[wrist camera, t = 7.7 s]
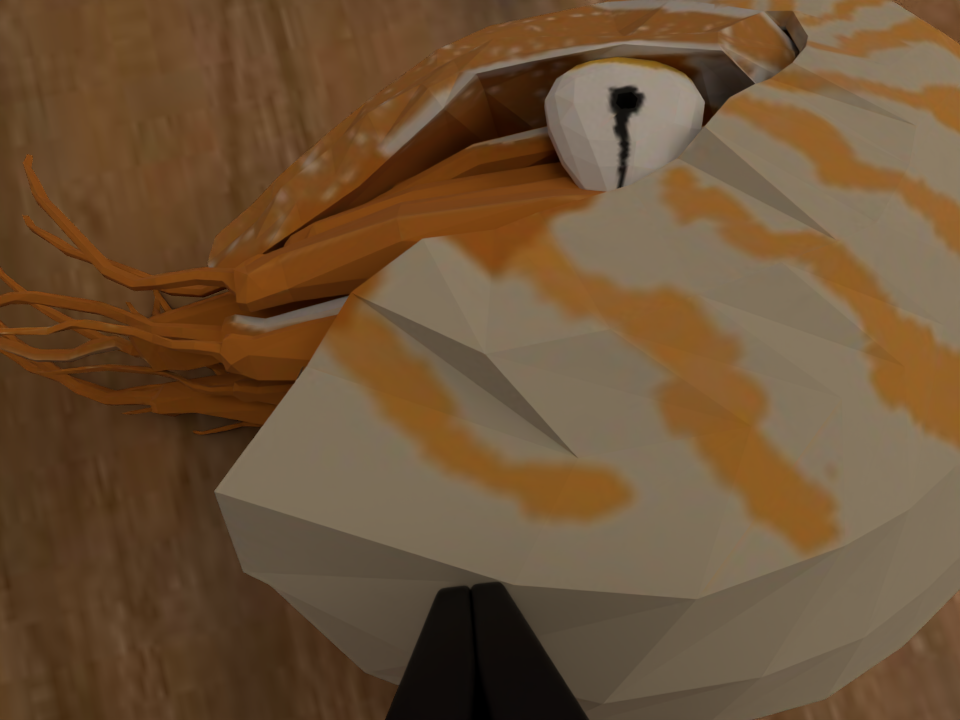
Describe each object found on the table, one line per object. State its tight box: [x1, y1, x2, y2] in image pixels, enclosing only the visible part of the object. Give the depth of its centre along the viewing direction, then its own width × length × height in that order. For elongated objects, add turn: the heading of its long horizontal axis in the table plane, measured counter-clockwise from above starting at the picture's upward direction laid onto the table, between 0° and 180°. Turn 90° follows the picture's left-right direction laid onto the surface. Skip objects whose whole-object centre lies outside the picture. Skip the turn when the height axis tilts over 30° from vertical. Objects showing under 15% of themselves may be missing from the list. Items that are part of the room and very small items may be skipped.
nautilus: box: [0, 0, 960, 720], centre depth 13 cm, size 8×22×15 cm
